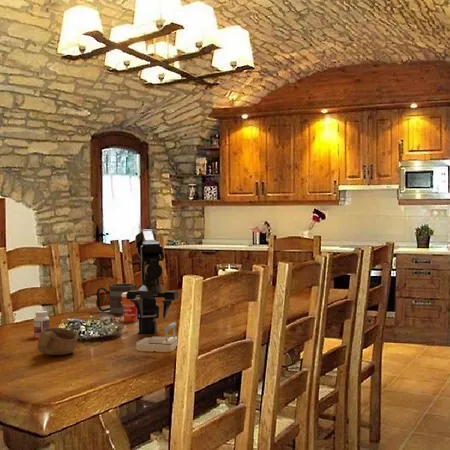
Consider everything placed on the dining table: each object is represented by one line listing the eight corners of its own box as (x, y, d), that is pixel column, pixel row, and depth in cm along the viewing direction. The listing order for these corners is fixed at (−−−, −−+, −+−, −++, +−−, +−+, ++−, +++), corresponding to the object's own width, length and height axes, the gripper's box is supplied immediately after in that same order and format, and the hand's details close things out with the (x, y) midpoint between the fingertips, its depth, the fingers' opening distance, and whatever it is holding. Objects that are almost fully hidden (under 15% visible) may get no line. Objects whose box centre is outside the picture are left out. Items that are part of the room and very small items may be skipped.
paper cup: (118, 324, 293) (117, 293, 292) (127, 321, 300) (126, 291, 299) (133, 325, 290) (133, 294, 289) (142, 322, 297) (141, 291, 296)
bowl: (69, 362, 223) (68, 333, 222) (28, 362, 224) (27, 333, 223) (83, 350, 241) (82, 323, 240) (45, 351, 241) (44, 324, 241)
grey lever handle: (162, 343, 236) (162, 326, 236) (171, 338, 246) (171, 322, 246) (170, 344, 236) (170, 327, 235) (179, 338, 245) (179, 322, 245)
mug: (139, 313, 323) (139, 283, 322) (134, 318, 309) (133, 286, 309) (100, 313, 324) (100, 283, 324) (93, 318, 311) (92, 287, 310)
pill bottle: (49, 336, 269) (48, 309, 268) (50, 339, 263) (50, 312, 262) (33, 337, 266) (32, 310, 266) (34, 340, 261) (34, 313, 260)
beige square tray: (134, 351, 237) (134, 343, 237) (148, 343, 250) (147, 336, 250) (170, 353, 234) (170, 345, 234) (182, 345, 247) (182, 337, 247)
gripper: (119, 278, 237) (120, 321, 237) (169, 278, 232) (170, 322, 233) (131, 275, 247) (132, 316, 248) (178, 275, 243) (179, 317, 243)
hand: (152, 318), depth 243 cm, fingers open, 9 cm apart
